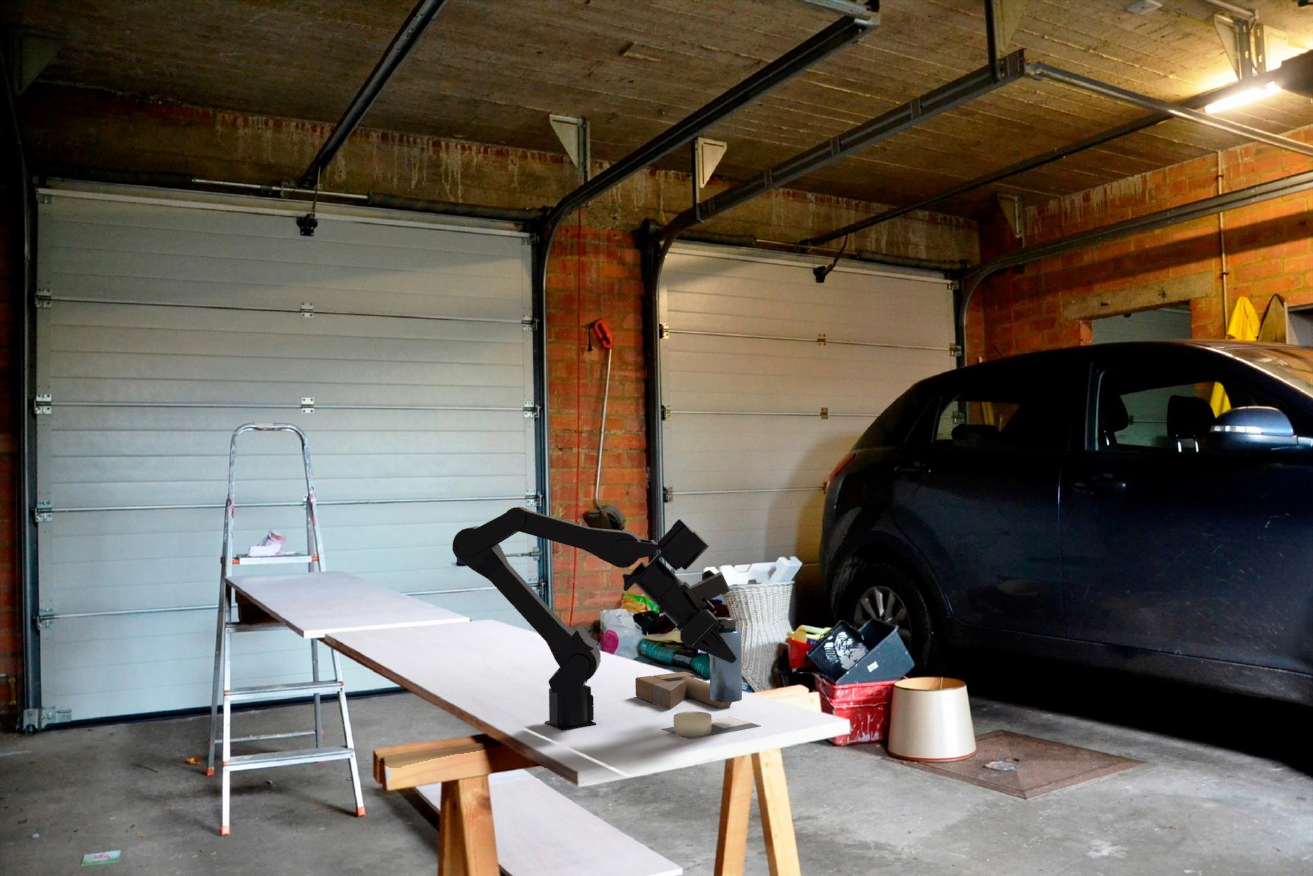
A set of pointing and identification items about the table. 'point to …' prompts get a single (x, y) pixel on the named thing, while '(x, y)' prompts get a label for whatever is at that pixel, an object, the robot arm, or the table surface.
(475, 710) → the table surface
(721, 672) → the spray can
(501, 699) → the table surface
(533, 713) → the table surface
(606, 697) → the table surface
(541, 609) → the robot arm
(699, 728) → the beige round puck
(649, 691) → the wooden block
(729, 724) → the mat
